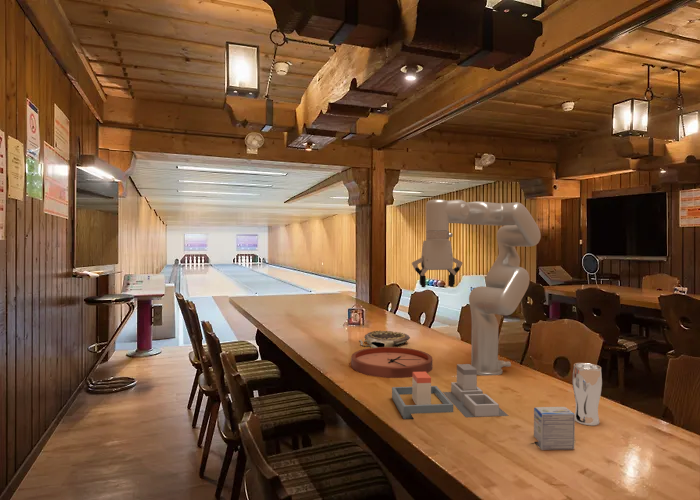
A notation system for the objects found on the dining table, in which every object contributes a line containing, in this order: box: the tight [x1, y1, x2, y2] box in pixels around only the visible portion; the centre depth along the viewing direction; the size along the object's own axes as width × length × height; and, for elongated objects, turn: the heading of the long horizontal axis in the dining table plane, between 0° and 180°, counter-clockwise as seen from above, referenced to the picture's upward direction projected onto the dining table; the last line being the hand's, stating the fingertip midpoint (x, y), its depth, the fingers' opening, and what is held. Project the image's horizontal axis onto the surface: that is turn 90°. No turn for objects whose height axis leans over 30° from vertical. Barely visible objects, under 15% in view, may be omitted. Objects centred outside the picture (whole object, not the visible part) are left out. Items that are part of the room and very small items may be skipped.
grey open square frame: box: [391, 385, 454, 420], centre depth 130 cm, size 14×16×4 cm
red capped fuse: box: [411, 372, 432, 405], centre depth 130 cm, size 4×6×9 cm, turn 5°
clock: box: [350, 346, 433, 379], centre depth 174 cm, size 31×4×31 cm
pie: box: [358, 330, 411, 348], centre depth 212 cm, size 28×27×5 cm
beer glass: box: [572, 362, 603, 427], centre depth 120 cm, size 7×7×15 cm
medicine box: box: [533, 406, 576, 451], centre depth 106 cm, size 8×4×9 cm, turn 92°
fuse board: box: [442, 381, 509, 418], centre depth 129 cm, size 12×20×4 cm, turn 6°
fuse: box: [456, 363, 478, 391], centre depth 135 cm, size 4×6×9 cm, turn 6°
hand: (437, 286), depth 151 cm, fingers open, 9 cm apart
